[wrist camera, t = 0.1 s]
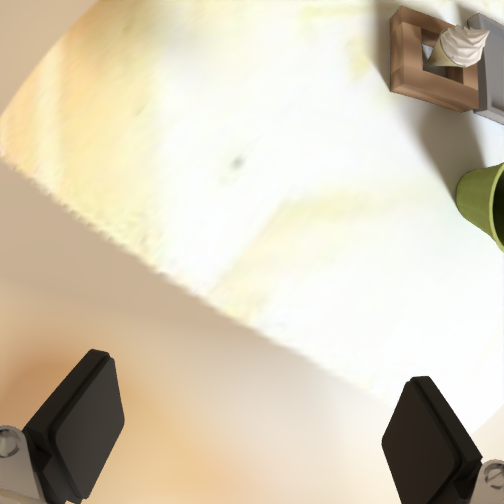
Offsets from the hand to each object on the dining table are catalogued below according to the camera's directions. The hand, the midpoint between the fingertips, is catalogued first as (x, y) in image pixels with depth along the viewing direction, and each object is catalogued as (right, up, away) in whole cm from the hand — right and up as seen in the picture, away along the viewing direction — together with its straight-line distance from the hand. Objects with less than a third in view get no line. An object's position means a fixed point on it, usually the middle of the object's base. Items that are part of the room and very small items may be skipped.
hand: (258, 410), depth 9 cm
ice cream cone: (+23, +30, +24) cm, 45 cm away
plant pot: (+31, +13, +28) cm, 43 cm away
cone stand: (+23, +30, +24) cm, 45 cm away
